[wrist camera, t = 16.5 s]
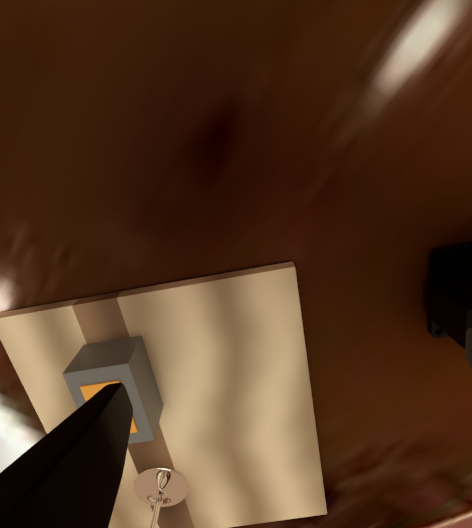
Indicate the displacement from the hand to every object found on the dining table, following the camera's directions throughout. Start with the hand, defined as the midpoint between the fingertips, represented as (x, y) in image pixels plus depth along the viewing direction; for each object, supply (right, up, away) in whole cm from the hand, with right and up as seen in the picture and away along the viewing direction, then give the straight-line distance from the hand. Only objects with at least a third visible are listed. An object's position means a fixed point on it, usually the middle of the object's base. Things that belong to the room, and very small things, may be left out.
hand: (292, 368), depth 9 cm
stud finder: (-9, -5, +15) cm, 18 cm away
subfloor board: (-6, -9, +17) cm, 20 cm away
